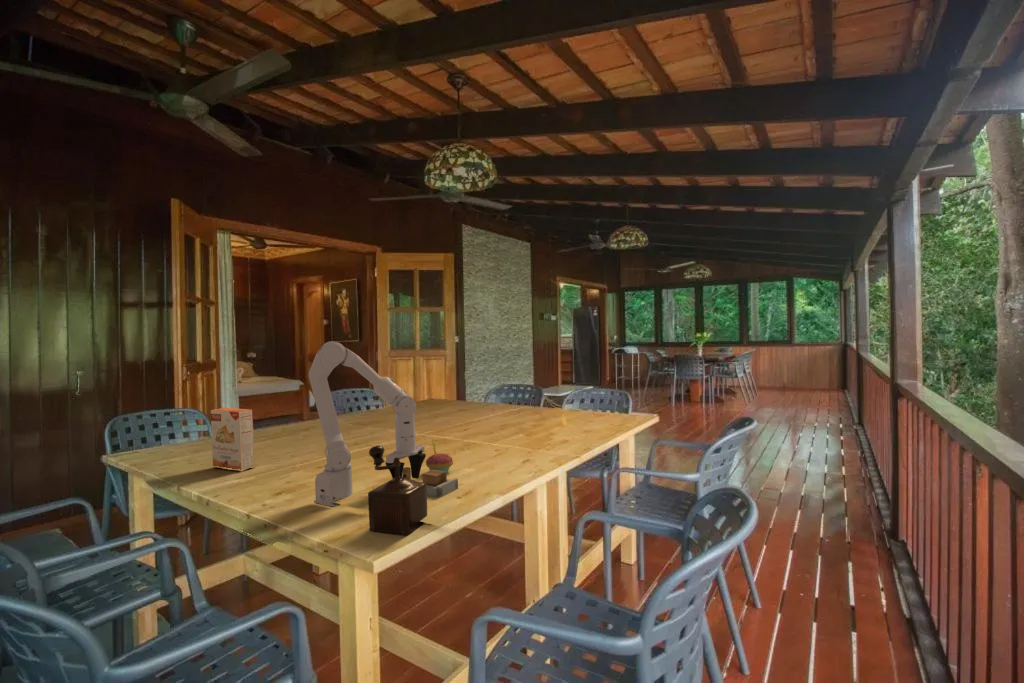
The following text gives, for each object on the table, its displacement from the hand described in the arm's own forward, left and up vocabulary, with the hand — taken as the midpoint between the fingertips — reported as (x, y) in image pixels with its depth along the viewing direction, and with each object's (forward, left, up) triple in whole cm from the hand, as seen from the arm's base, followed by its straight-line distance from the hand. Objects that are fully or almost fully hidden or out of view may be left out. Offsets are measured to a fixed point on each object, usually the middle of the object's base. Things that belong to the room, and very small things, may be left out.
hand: (406, 481), depth 146 cm
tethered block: (0, -6, -1) cm, 6 cm away
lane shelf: (0, -6, -2) cm, 7 cm away
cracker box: (-9, +72, -2) cm, 72 cm away
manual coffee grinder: (-22, -14, -2) cm, 26 cm away
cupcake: (+15, 0, -2) cm, 15 cm away
